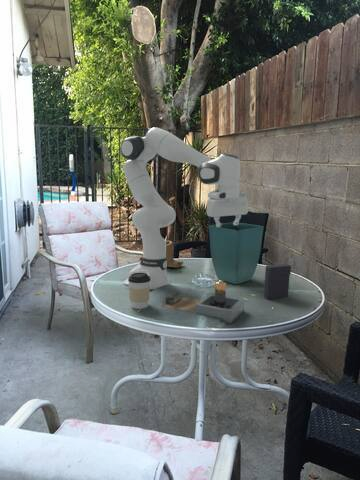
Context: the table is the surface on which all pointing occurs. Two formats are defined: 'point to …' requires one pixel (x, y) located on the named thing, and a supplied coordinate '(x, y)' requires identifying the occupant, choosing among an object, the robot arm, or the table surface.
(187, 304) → the plate
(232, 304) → the bin
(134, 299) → the coffee cup
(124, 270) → the table surface
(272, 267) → the grey box
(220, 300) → the battery cell
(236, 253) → the flower pot
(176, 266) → the wooden bookend
